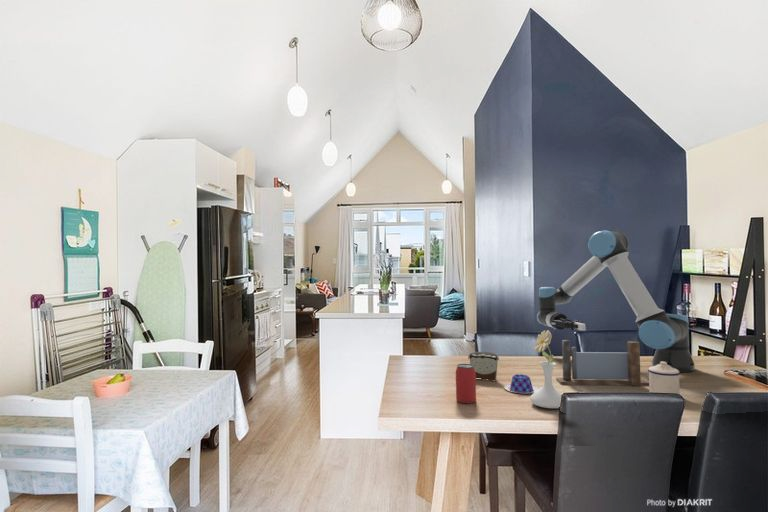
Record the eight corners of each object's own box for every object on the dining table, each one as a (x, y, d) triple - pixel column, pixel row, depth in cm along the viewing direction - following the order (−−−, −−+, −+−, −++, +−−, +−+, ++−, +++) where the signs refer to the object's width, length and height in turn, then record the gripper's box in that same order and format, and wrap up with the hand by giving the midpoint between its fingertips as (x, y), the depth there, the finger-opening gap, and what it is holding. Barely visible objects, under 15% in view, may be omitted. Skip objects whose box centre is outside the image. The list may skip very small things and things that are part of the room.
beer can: (454, 398, 146) (453, 363, 147) (472, 397, 147) (472, 362, 147) (459, 404, 140) (458, 368, 140) (478, 403, 140) (477, 367, 141)
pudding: (499, 386, 160) (498, 372, 160) (529, 384, 162) (529, 371, 162) (512, 396, 148) (512, 381, 148) (545, 394, 150) (544, 379, 150)
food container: (502, 377, 171) (501, 352, 172) (499, 381, 166) (499, 355, 166) (472, 374, 177) (471, 350, 177) (468, 378, 171) (467, 353, 171)
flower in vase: (529, 398, 144) (527, 325, 145) (565, 401, 141) (563, 326, 142) (531, 412, 132) (529, 331, 132) (570, 415, 129) (568, 332, 129)
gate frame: (642, 381, 163) (641, 339, 163) (652, 386, 156) (650, 342, 156) (556, 380, 166) (555, 339, 166) (561, 385, 159) (560, 342, 159)
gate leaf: (630, 378, 161) (629, 347, 161) (632, 379, 159) (631, 347, 159) (571, 377, 163) (571, 346, 164) (573, 379, 162) (572, 347, 162)
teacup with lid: (687, 399, 141) (686, 364, 141) (662, 401, 139) (661, 365, 140) (659, 389, 152) (658, 356, 153) (636, 390, 151) (635, 357, 151)
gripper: (570, 328, 202) (599, 335, 178) (544, 329, 201) (569, 337, 178) (570, 312, 202) (598, 317, 179) (543, 313, 201) (568, 319, 178)
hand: (583, 327), depth 178 cm, fingers closed
